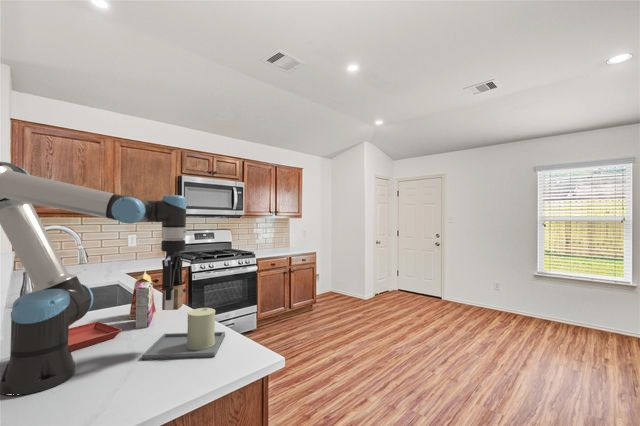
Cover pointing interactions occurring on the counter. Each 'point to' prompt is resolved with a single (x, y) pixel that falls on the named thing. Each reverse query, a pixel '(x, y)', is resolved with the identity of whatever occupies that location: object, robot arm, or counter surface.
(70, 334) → the plant saucer
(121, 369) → the counter surface
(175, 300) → the walnut block
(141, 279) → the milk carton
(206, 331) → the can
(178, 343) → the tray
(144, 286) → the candy bar box
